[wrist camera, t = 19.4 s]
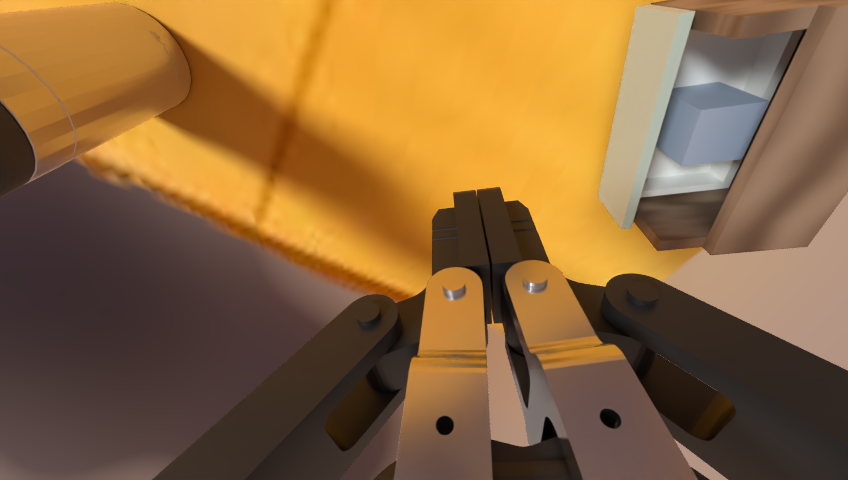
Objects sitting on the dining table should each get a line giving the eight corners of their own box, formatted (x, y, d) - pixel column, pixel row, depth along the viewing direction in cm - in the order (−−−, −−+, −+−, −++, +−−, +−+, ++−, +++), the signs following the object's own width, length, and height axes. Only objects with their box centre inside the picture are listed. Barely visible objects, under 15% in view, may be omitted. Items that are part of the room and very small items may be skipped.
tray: (597, 197, 40) (621, 229, 35) (636, 6, 29) (680, 13, 24) (701, 185, 39) (741, 217, 34) (787, -20, 27) (868, -18, 22)
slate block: (648, 140, 35) (681, 166, 30) (661, 89, 32) (701, 110, 27) (699, 133, 34) (742, 158, 30) (719, 81, 31) (769, 100, 27)
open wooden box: (609, 190, 41) (664, 259, 31) (650, 3, 29) (760, 19, 19) (714, 178, 40) (807, 246, 30) (803, -23, 28) (1002, -20, 18)
